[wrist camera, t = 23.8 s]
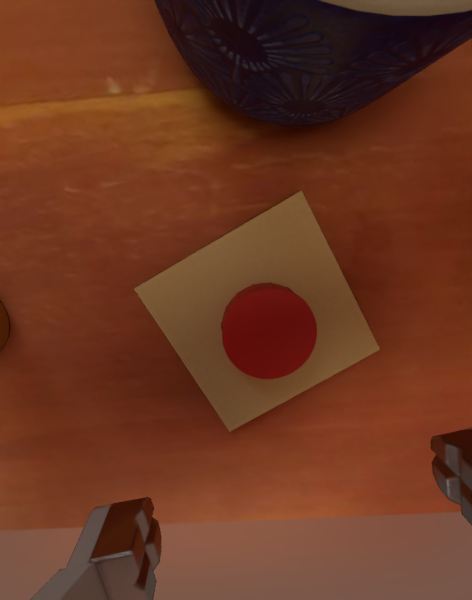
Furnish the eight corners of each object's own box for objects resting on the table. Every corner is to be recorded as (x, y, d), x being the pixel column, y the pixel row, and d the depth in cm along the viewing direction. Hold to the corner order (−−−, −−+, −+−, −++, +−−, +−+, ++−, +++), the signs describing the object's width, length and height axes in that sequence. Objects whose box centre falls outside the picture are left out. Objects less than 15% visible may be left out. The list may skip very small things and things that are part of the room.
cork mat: (375, 346, 26) (380, 349, 25) (229, 426, 27) (229, 432, 26) (298, 191, 23) (301, 189, 22) (136, 287, 24) (133, 288, 23)
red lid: (211, 354, 24) (210, 367, 22) (235, 271, 23) (238, 276, 21) (291, 374, 25) (299, 389, 23) (319, 295, 24) (331, 303, 21)
